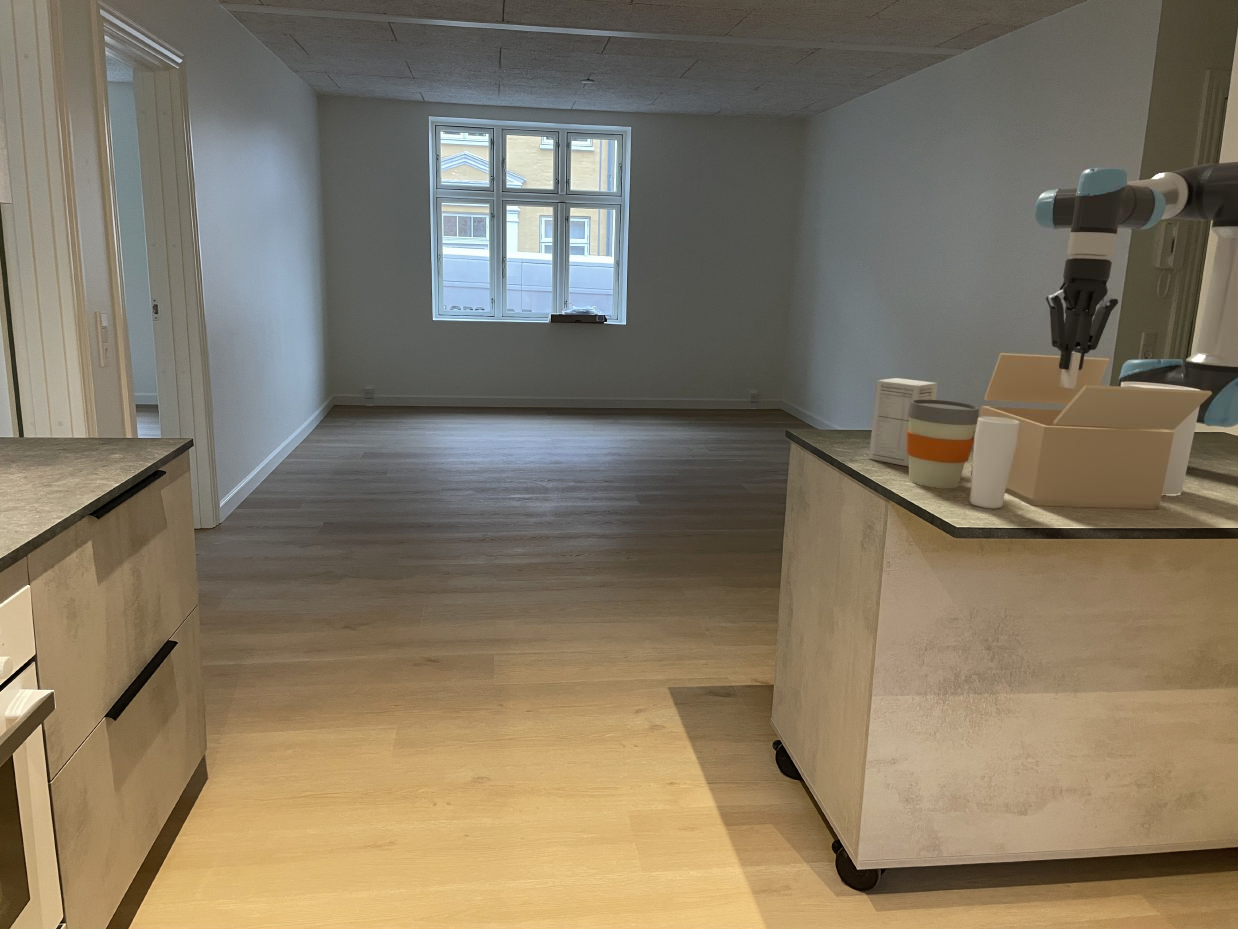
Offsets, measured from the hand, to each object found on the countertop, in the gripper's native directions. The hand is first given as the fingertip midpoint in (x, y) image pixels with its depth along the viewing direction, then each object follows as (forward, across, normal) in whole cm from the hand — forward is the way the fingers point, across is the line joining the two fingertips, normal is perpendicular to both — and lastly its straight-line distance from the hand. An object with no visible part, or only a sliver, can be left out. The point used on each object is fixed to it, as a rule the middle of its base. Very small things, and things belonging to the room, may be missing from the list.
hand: (1067, 387), depth 165 cm
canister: (+20, -21, -3) cm, 29 cm away
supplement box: (+20, +22, -20) cm, 35 cm away
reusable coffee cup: (+20, +23, -1) cm, 30 cm away
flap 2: (+1, 0, +18) cm, 18 cm away
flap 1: (0, 0, -7) cm, 7 cm away
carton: (+19, 0, +3) cm, 20 cm away
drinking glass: (+20, +21, +15) cm, 33 cm away
